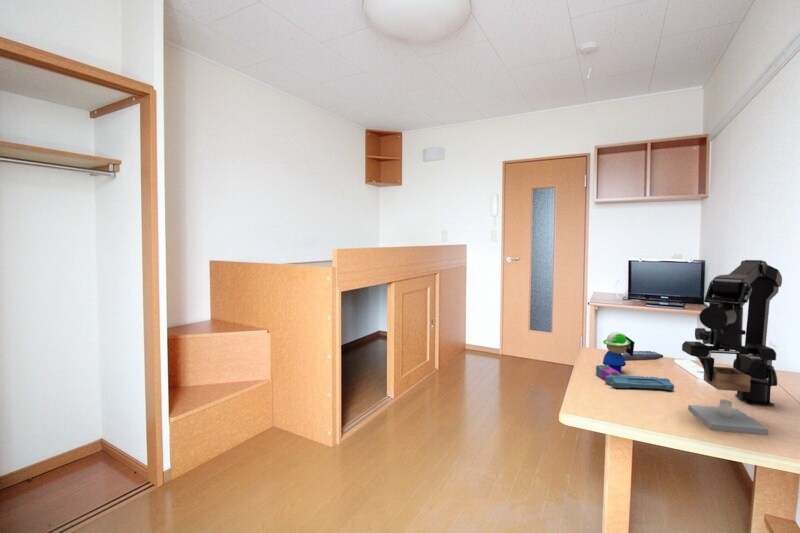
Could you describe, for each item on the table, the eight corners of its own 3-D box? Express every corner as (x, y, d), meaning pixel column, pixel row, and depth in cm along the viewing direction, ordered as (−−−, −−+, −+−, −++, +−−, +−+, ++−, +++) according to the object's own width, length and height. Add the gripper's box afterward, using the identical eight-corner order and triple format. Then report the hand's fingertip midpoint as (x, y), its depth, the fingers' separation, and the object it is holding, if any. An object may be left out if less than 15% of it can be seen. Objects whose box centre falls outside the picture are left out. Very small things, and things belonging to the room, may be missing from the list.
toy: (635, 376, 137) (636, 335, 136) (610, 376, 137) (610, 335, 136) (621, 368, 146) (622, 329, 145) (597, 368, 146) (598, 329, 145)
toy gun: (653, 377, 136) (676, 395, 121) (594, 375, 139) (610, 392, 124) (653, 366, 135) (677, 382, 121) (594, 364, 139) (610, 379, 124)
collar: (733, 382, 104) (733, 367, 103) (750, 391, 97) (750, 376, 97) (703, 380, 105) (704, 366, 105) (717, 389, 99) (718, 374, 98)
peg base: (737, 413, 106) (738, 394, 106) (767, 434, 94) (768, 413, 94) (688, 409, 109) (688, 391, 108) (711, 429, 97) (712, 409, 97)
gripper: (750, 319, 106) (748, 374, 107) (673, 317, 110) (672, 369, 111) (779, 328, 95) (776, 389, 96) (693, 325, 99) (691, 383, 100)
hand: (725, 381), depth 101 cm, fingers closed on collar, 7 cm apart
